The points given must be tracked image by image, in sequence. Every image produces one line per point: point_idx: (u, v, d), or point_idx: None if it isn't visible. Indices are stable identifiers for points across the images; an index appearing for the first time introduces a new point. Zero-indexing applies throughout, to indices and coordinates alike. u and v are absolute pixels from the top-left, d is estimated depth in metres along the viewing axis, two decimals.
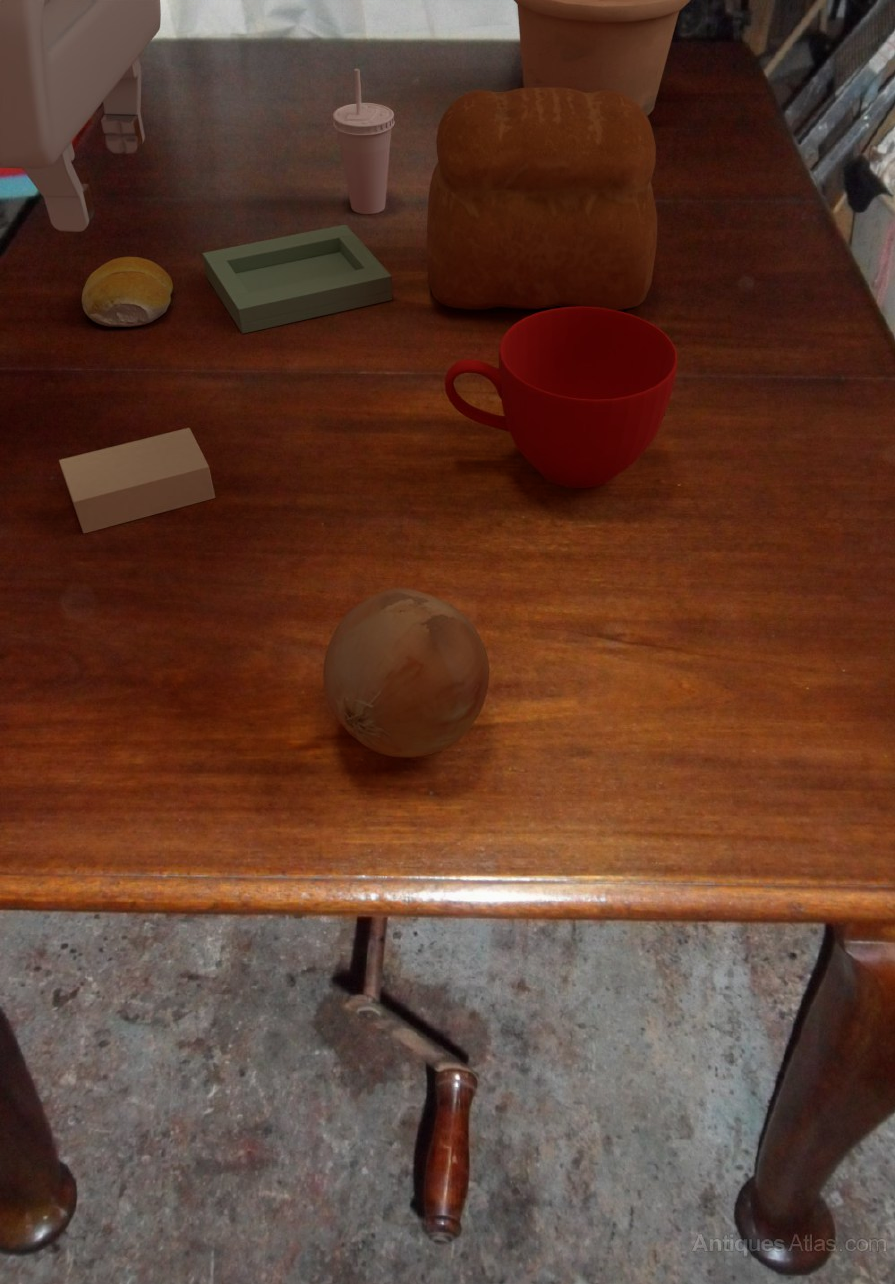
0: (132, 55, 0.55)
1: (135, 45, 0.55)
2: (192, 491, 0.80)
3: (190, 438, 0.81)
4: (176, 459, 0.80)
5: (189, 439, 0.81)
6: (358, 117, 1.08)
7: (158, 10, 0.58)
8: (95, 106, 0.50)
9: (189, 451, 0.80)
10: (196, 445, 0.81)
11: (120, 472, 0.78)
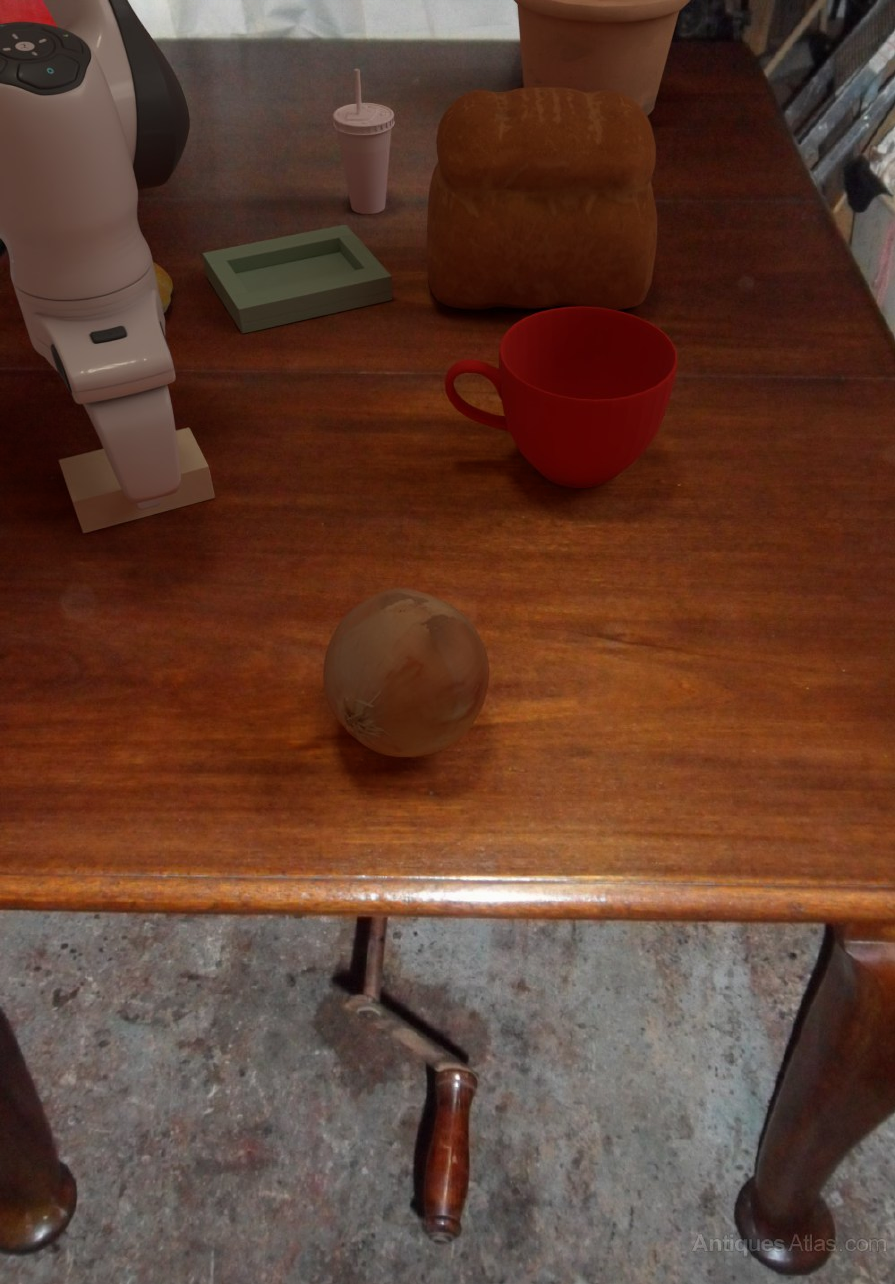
0: None
1: None
2: (192, 491, 0.80)
3: (190, 437, 0.81)
4: None
5: (189, 439, 0.81)
6: (358, 117, 1.08)
7: None
8: None
9: (189, 451, 0.80)
10: (196, 445, 0.81)
11: None
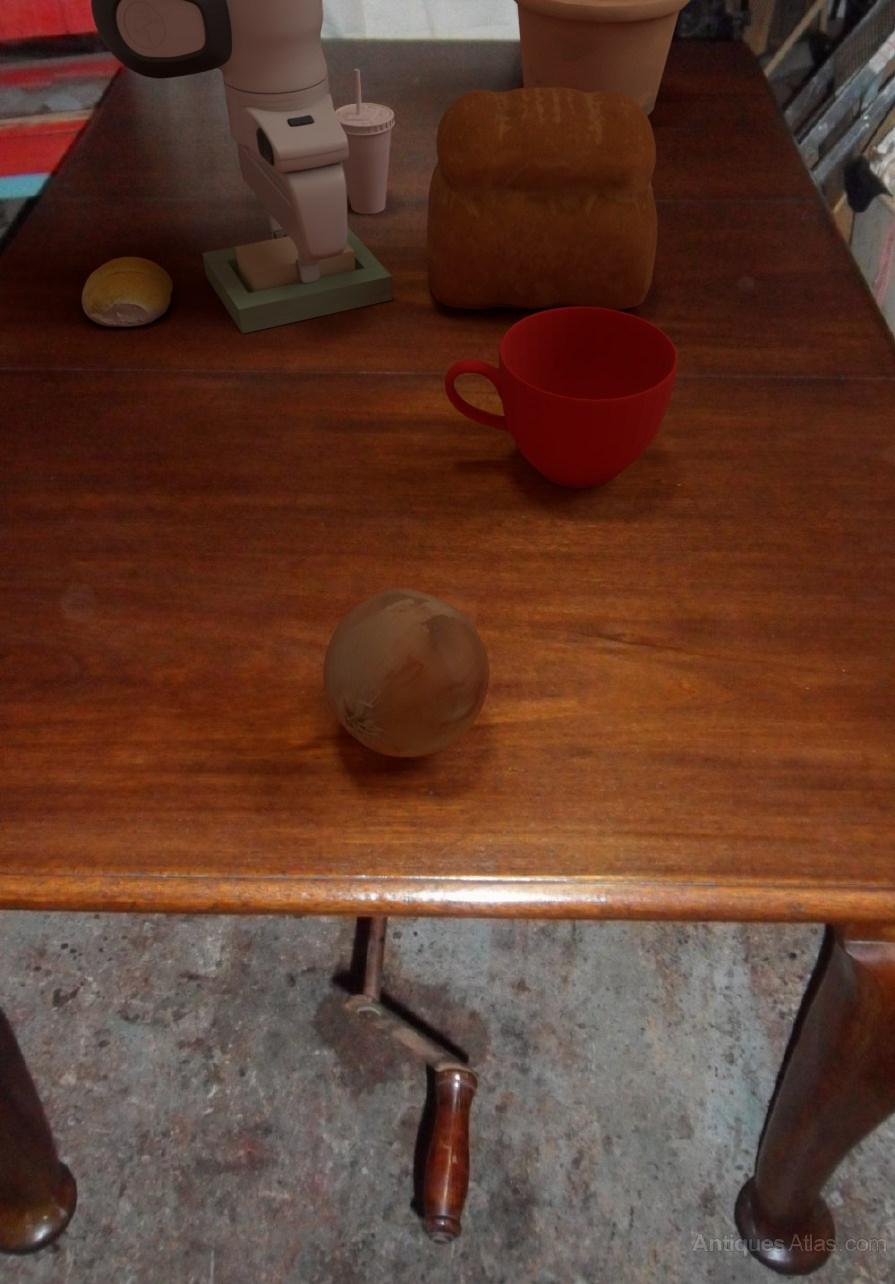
0: None
1: None
2: (340, 272, 1.01)
3: None
4: None
5: None
6: (358, 117, 1.08)
7: None
8: None
9: None
10: None
11: (285, 254, 1.00)
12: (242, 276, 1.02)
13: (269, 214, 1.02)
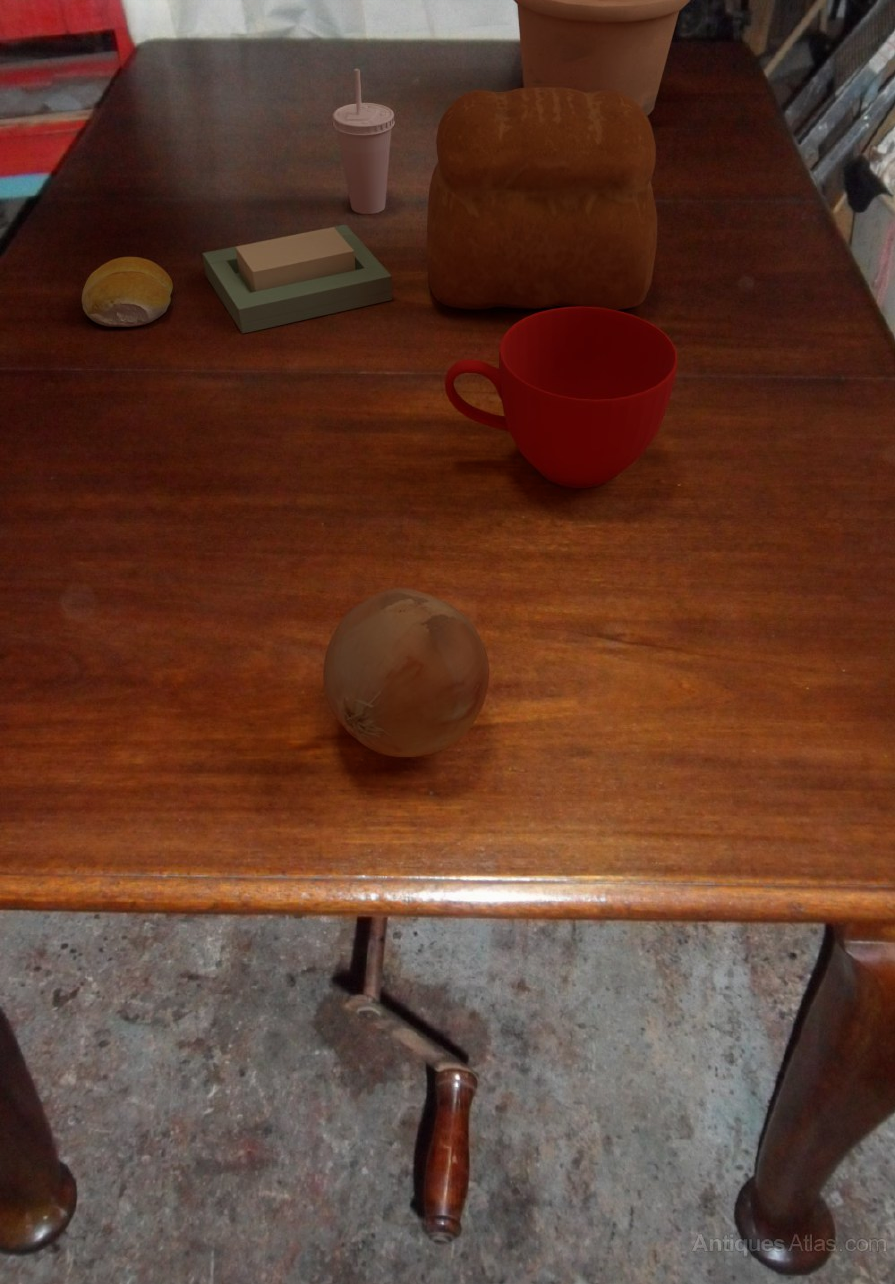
0: None
1: None
2: (340, 272, 1.01)
3: (336, 233, 1.03)
4: (327, 246, 1.01)
5: (335, 234, 1.03)
6: (358, 117, 1.08)
7: None
8: None
9: (337, 241, 1.02)
10: (341, 238, 1.02)
11: (285, 254, 1.00)
12: (242, 276, 1.02)
13: None
